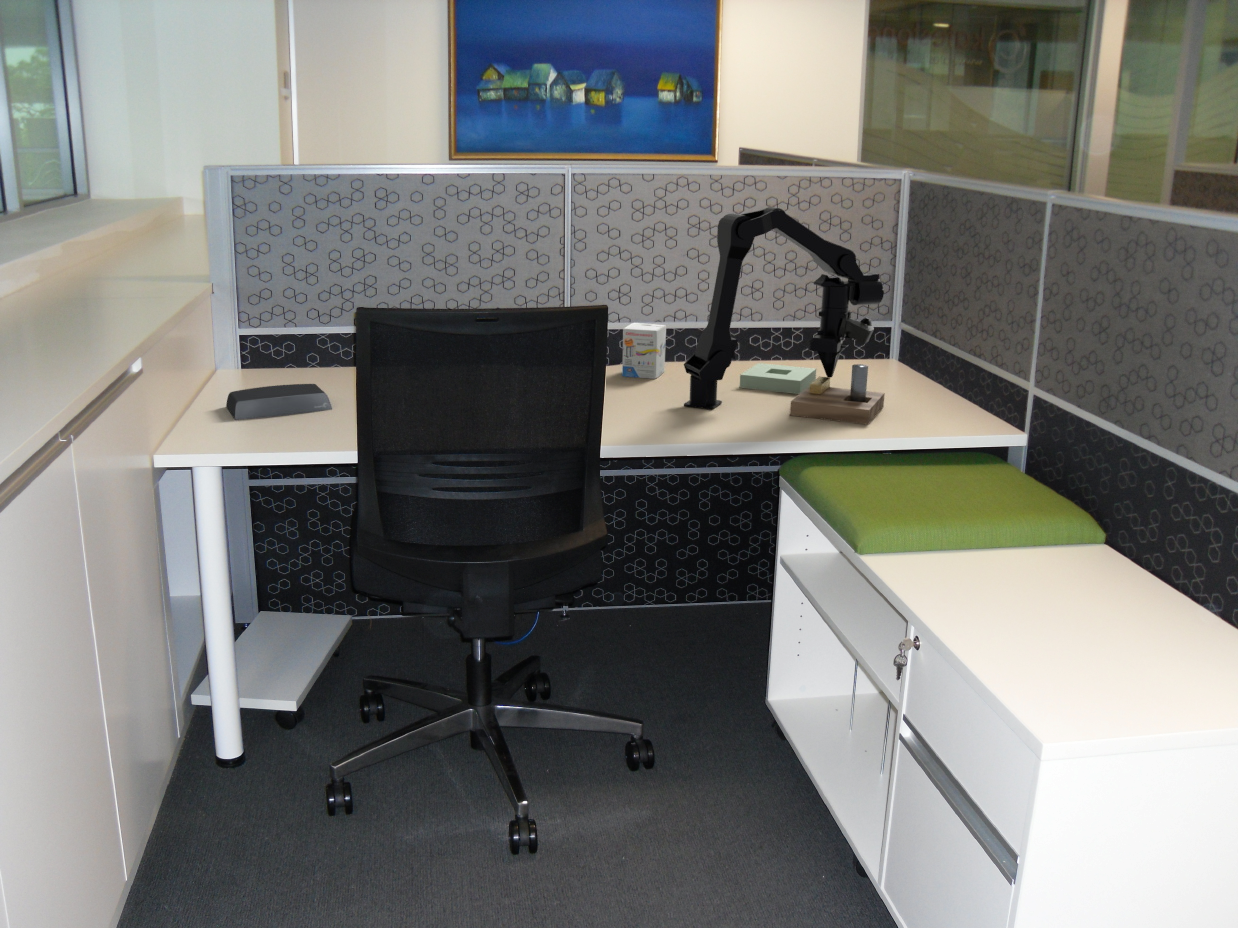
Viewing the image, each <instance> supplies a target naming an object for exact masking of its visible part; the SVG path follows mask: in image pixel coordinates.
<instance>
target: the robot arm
mask: <svg viewBox="0 0 1238 928" xmlns="http://www.w3.org/2000/svg"><path fill="white" fill-rule="evenodd" d="M770 231H774V232H776V233H778V234H779V235H781V236H782V237H783V238H785V239H787V240H788V241H790V242H791V243H793V244H794V245H796V246H797V247H798V248H800V249H802V250H803V251H805V253H808V254H809V255H810V257H811V258H812V260H813V261H814V263H815V264H816V265H817V266H819V268H820V269H821V270H822V271H824V272H825V273H828V274H832V275H835V276H836V277H830V276H829V275H827V274H824V273H822V274H821V275H820V276H819V277H818V278H817V279H815V281H813V285H815V286H817V287H822V292H821V293H822V294H821V309H820V310H819V311H818V317H820V321H819V329H818V330H817V335H815V336H813V337H812V338H811V339H810V340H808V345H807V346H808V348H807V351H811V352H812V351H813V352H817V355H818V357H819V359H820V362H821V365H822V368H823V369H824V373H825V375H826V377H829V378H833V376H834V373H835V370H836V367H837V364H838V361H839V358H840V356H841V352H843V351H844V350H845V349H846V348H847V347H849V345H850V344H847V343H843V339H849V341H854V340H856V341H857V342H858V343H859V344H862V345H867V343H869V341H870V338H871V336H872V335H873V333H874V330H875V326H873V325H872V319H871V318H868V317H864V318H862V319H860V320H859V319H856V318H853V317H852V312H851V310H849V306H850V305H849V303H850V304H851V305H852V306H868V305H869V306H871V305H879V304H880V303H882V301H883V299H884V294H885V290H884V287H883V286H884V285H883V282H882V281H881V280H880V273H877V272H869V273H863V272H862V269H861V268H860V267H859V264H858V263H857V255H856V254H855V252H854V251H853V250H851V249H849V248H847V247H844V246H842V245H839V244H837V243H834V242H832V241H829V240H827V239H824V238H823V237H821V236H820V235H819V234H817V233H816V232H814V231H813V230H811V229H809V228H808V227H806V226H805V225H803V224H802V223H801V222H799V221H798V220H796V219H795V218H793V217H792V216H791V215H789V214H788V213H786V211H785V210H784V209H782V208H780V207H775V206H774V207H773V206H767V207H766V208H764V209H763V208H762V209H760V210H755V211H750V212H744V213H741V214H738V213H737V214H736V213H728V214H725V215H724V216H723V217H721V218H720V219H719V221H718V224H717V234H716V235H717V237H716V238H717V239H716V241H717V243H716V244H717V248H718V253H719V261H718V267H717V271H716V273H717V274H716V278H715V283H714V289H713V295H712V300H711V306H710V309H709V310H710V311H709V315H708V322H707V324H706V326H705V328H704V330H703V331H702V332H701V334H700V335H699V338H698V341H697V344H696V347H695V350H694V353H693V354H692V355H691V356H690V357H689V358H688V359H687V360H686V361H685V362H684V364H683V367H684V371H685V372H686V374H689V375H690V377H689V400H687V401H685V402H684V403H683V406H684V407H688V408H689V407H690V408H699V409H705V410H706V409H707V410H714V409H715V408H716V407H718V406H719V405H721V404H722V403H723V401H722V400H719V399H717V398H718V397H717V395H718V381H722V380H723V377H724V376H725V373H726V370H727V369H728V368H729V367H730V366H731V364H732V361H733V360H736V355H735V352H736V349H737V346H738V339H737V338H734V337H732V334H731V324H732V318H733V315H734V308H735V304H736V303H735V302H736V299H737V298H736V297H737V293H738V287H739V281H740V276H741V273H742V266H743V262H744V260H745V258H746V256H747V255H748V253H749V252H750V251H751V249H752V247H753V244H754V241H755V238H756V237H758V236H759V237H760V236H762V235H765V234H767V233H768V232H770ZM843 279H847V281H846V280H845V281H844V280H843Z"/></svg>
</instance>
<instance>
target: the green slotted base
mask: <svg viewBox="0 0 1238 928" xmlns="http://www.w3.org/2000/svg"><path fill="white" fill-rule="evenodd" d="M816 376H817V368H813V367H802V366H792V365H783V364H773V363H762V362H758V363H756V364H754V365H753V366H751V367H750V368H748V369H746V370H745V371H743V372H742V373H741V374H739V388H741V389H742V388H743V389H750V390H759V391H769V392H777V393H787V394H795V395H797V394H798V395H799V394H800V393H801V392H803V391H804V390H805V389H806V388H808V387H809V386H810V384H811V383H812V382H813V381H814V380H816V379H817V377H816Z"/></svg>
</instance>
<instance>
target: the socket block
mask: <svg viewBox="0 0 1238 928" xmlns="http://www.w3.org/2000/svg"><path fill="white" fill-rule="evenodd" d="M850 390H851V388H843V387H842V388H841V387H835V386H833V387H831V386H830V387H829V388H828V389H826V390H825V391H824V392H823V393H822V394H821V395H820V394H811V393H809V392H810V386H809V387H808V388H806V389H805V390H804V391H803V392H801V393H800V394H798V395H797V396H796V397H794V398H793V399H791V400H790V409H789V413H790V414H789V416H792V417H802V418H811V419H818V420H827V421H834V420H835V422H843V423H853V424H861V425H869V424H870V423H871V422H872V421H873V419H875V417H876V416H877V415H878V414H879V413H880V411H881V410H882V409H883V408H884V405H885V404H884V403H885V395H886V394H885V392H880V391H871V390H866V401H865V403H863V402H854V401H850ZM882 407H883V408H882Z"/></svg>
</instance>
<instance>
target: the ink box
mask: <svg viewBox="0 0 1238 928" xmlns="http://www.w3.org/2000/svg"><path fill="white" fill-rule="evenodd" d="M666 338H667V325H666V324H653V323H646V322H645V323H643V322H632V323H630V324H628V325H627V326H625V327H623V328H622V371H621V372H622V374H621V375H622V377H623V378H624V377H626V378H640V379H651V380H652V379H654V380H656V379H658V377H660V376H662V374H663V373H664V372H665V368H666V366H665V365H666V363H665V362H666Z"/></svg>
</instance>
